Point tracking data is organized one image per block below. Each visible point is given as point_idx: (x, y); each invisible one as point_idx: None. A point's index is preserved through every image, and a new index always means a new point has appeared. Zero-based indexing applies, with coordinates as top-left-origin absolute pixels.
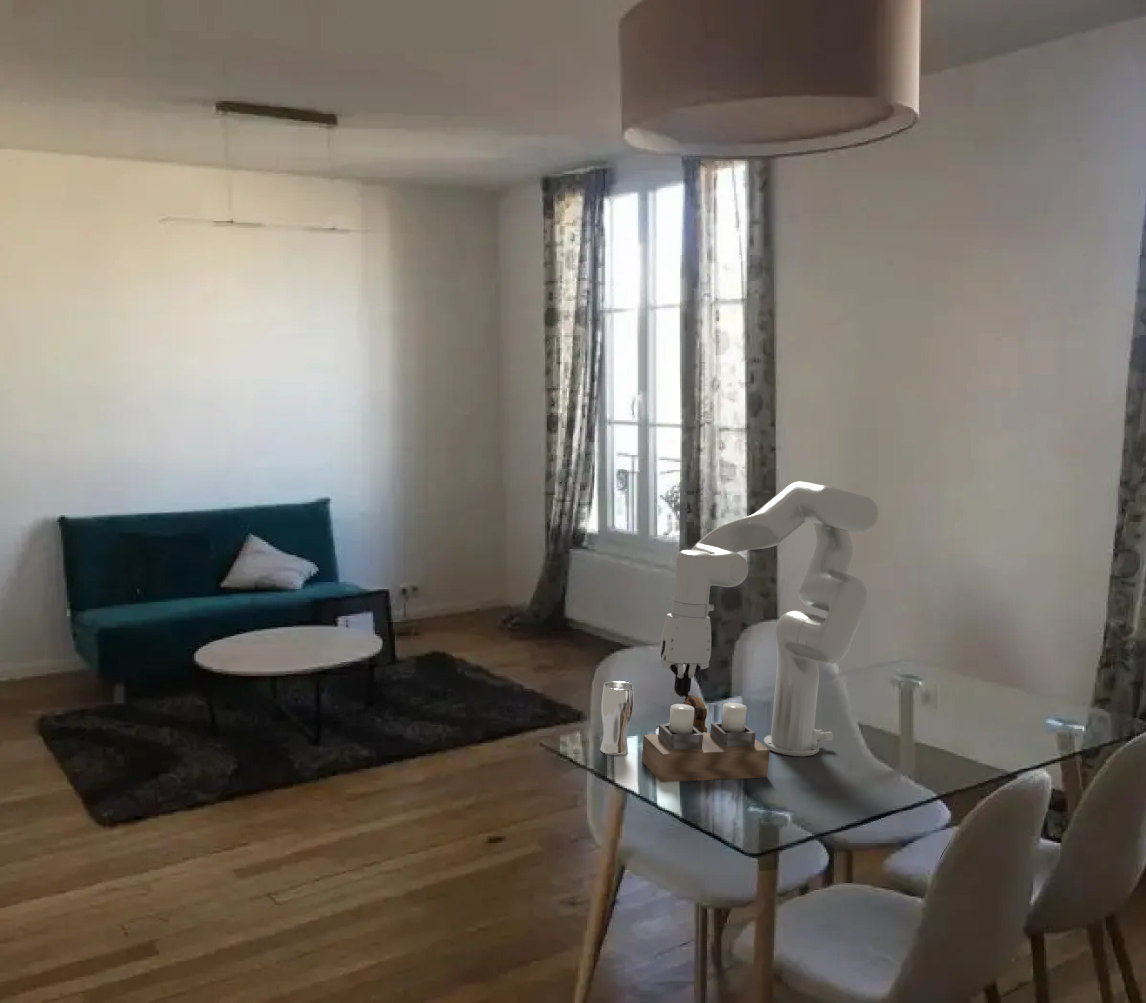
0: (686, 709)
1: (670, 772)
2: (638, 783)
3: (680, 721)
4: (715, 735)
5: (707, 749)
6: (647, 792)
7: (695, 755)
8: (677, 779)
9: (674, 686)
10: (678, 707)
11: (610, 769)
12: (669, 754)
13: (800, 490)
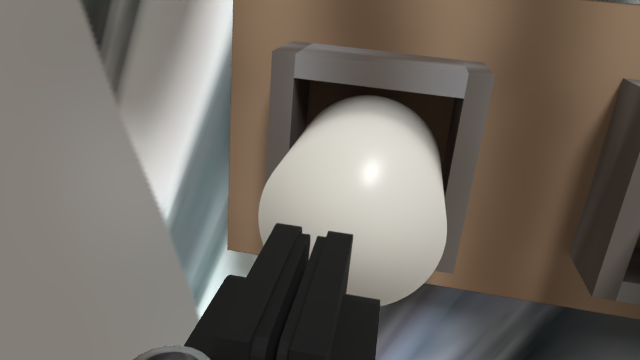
0: (358, 272)
1: None
2: (181, 185)
3: None
4: (611, 162)
5: (468, 255)
6: (185, 260)
7: None
8: None
9: (221, 285)
10: (319, 214)
11: (119, 29)
12: (257, 254)
13: None
